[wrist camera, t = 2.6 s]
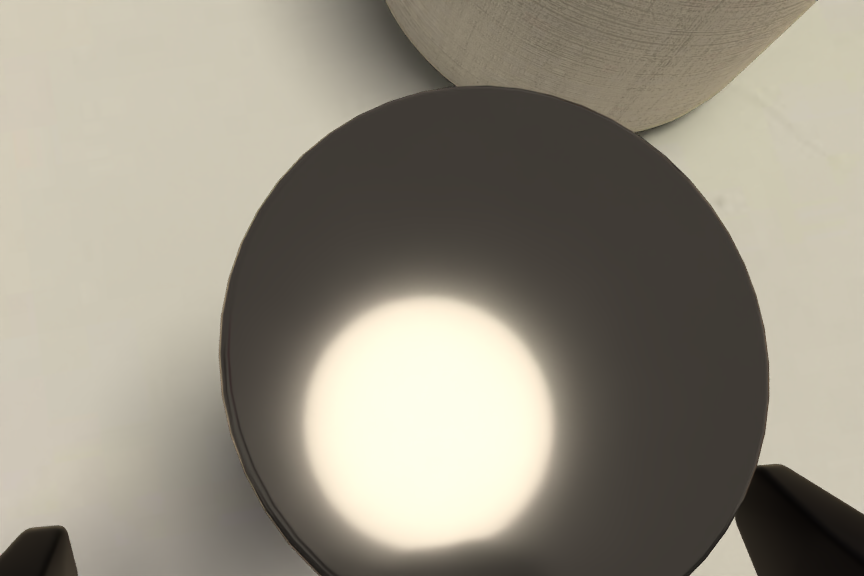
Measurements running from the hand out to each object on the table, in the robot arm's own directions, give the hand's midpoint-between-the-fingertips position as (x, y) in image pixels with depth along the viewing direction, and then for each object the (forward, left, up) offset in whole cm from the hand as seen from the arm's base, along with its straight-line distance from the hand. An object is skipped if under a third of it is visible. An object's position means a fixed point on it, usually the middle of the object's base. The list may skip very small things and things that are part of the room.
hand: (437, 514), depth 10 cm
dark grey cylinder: (+2, 0, -9) cm, 9 cm away
